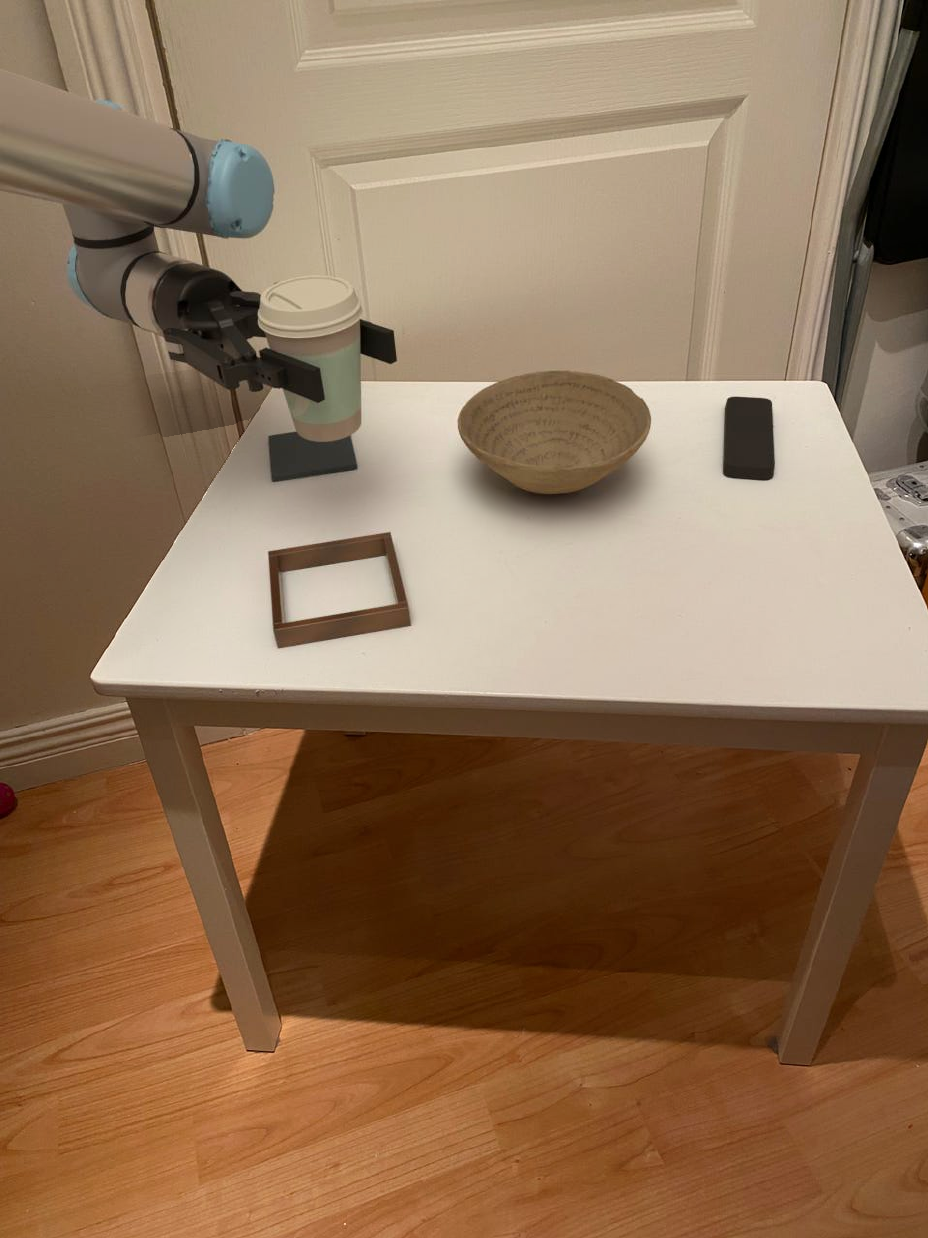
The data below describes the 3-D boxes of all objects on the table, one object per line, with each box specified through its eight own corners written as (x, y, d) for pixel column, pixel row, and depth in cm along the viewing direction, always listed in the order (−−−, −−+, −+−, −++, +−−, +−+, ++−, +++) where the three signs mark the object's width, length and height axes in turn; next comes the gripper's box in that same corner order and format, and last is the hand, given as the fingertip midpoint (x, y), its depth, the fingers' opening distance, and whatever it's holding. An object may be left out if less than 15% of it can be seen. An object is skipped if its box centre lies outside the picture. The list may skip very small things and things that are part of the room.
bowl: (455, 536, 89) (449, 463, 83) (466, 438, 103) (462, 370, 97) (652, 535, 87) (660, 461, 82) (637, 435, 101) (642, 366, 96)
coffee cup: (283, 406, 86) (258, 276, 78) (376, 398, 86) (360, 268, 78) (277, 454, 79) (248, 318, 72) (377, 446, 80) (359, 308, 72)
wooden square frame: (277, 648, 78) (273, 630, 77) (272, 568, 86) (267, 551, 85) (411, 625, 79) (408, 607, 78) (392, 548, 88) (390, 531, 86)
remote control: (772, 485, 93) (770, 407, 104) (775, 470, 92) (773, 393, 103) (722, 481, 94) (724, 405, 105) (724, 466, 93) (727, 390, 104)
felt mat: (272, 481, 98) (271, 476, 98) (268, 439, 105) (267, 435, 104) (357, 469, 99) (356, 464, 99) (348, 428, 106) (348, 423, 105)
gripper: (277, 305, 96) (443, 362, 84) (105, 382, 84) (268, 460, 72) (263, 230, 91) (437, 279, 79) (78, 301, 79) (248, 370, 68)
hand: (356, 365), depth 76 cm, fingers closed on coffee cup, 8 cm apart
